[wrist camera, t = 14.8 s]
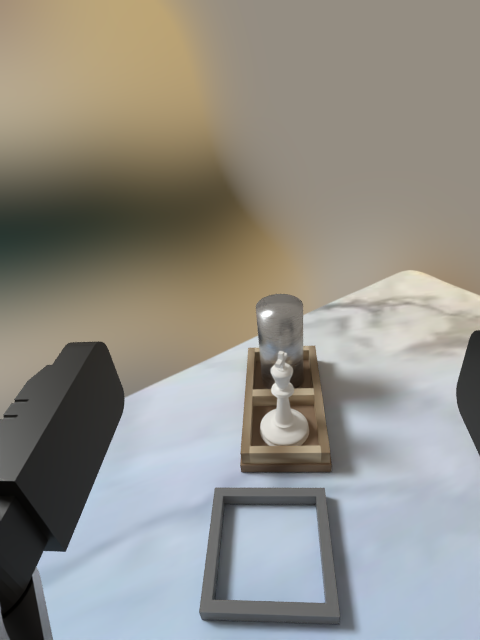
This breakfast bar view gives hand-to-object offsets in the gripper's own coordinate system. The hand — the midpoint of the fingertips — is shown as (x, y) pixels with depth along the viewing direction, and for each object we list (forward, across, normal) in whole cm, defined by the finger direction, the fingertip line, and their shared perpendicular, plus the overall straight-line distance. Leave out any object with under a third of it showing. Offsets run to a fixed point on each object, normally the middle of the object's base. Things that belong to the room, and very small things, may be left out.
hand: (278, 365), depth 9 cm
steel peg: (+28, +1, +27) cm, 39 cm away
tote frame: (+9, +2, +28) cm, 29 cm away
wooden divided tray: (+24, +1, +28) cm, 37 cm away
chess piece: (+20, +1, +27) cm, 34 cm away
